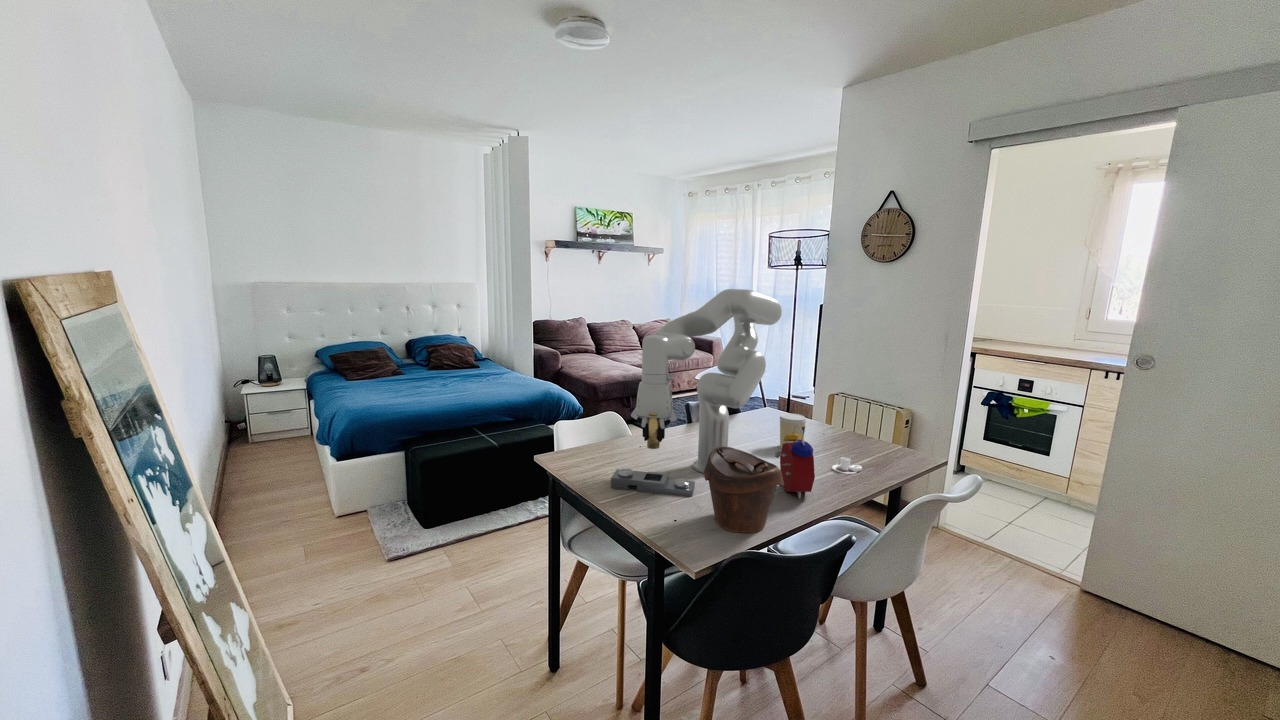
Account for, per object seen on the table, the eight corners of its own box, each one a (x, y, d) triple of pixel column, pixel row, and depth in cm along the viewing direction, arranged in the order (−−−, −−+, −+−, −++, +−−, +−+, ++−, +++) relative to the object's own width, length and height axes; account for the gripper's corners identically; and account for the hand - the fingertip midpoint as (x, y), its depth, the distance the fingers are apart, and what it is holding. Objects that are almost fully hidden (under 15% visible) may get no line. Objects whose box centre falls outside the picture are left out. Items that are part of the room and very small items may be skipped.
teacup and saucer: (863, 470, 168) (864, 459, 167) (855, 477, 162) (856, 465, 161) (837, 464, 174) (838, 452, 173) (827, 470, 168) (828, 458, 167)
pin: (662, 445, 151) (663, 409, 150) (659, 450, 147) (660, 413, 145) (646, 443, 152) (647, 407, 151) (643, 448, 148) (644, 412, 146)
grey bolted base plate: (694, 485, 153) (695, 472, 152) (691, 497, 145) (692, 483, 145) (617, 478, 158) (617, 465, 157) (610, 488, 150) (610, 475, 150)
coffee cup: (807, 452, 184) (809, 420, 182) (781, 452, 184) (783, 419, 182) (800, 444, 193) (802, 413, 191) (775, 443, 193) (777, 412, 191)
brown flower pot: (785, 543, 120) (789, 471, 118) (700, 535, 124) (702, 465, 121) (778, 510, 138) (782, 446, 135) (703, 503, 141) (706, 441, 138)
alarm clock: (813, 502, 143) (818, 433, 140) (782, 501, 143) (786, 433, 140) (798, 481, 157) (802, 418, 154) (770, 480, 158) (773, 418, 154)
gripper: (685, 377, 148) (683, 438, 151) (629, 374, 152) (628, 434, 155) (681, 382, 141) (679, 446, 144) (623, 379, 144) (622, 441, 147)
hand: (653, 439), depth 149 cm, fingers closed on pin, 3 cm apart
